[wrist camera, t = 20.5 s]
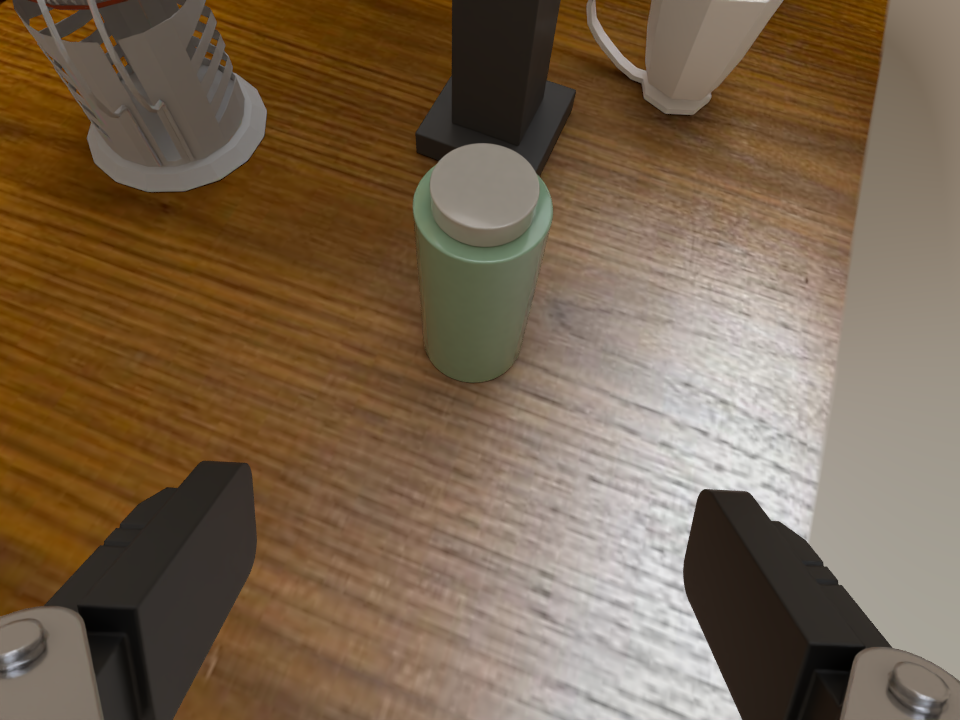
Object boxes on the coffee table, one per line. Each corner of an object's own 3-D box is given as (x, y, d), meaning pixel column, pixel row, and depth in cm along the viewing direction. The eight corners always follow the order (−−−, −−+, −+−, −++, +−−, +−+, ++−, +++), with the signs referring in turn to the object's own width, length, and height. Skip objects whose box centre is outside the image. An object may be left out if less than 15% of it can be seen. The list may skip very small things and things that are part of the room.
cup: (716, 147, 36) (785, 20, 29) (557, 93, 37) (584, -42, 30) (742, 72, 39) (811, -62, 31) (594, 24, 40) (626, -115, 33)
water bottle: (535, 316, 30) (578, 156, 21) (500, 398, 29) (527, 266, 19) (447, 282, 31) (447, 112, 21) (406, 360, 29) (385, 213, 19)
